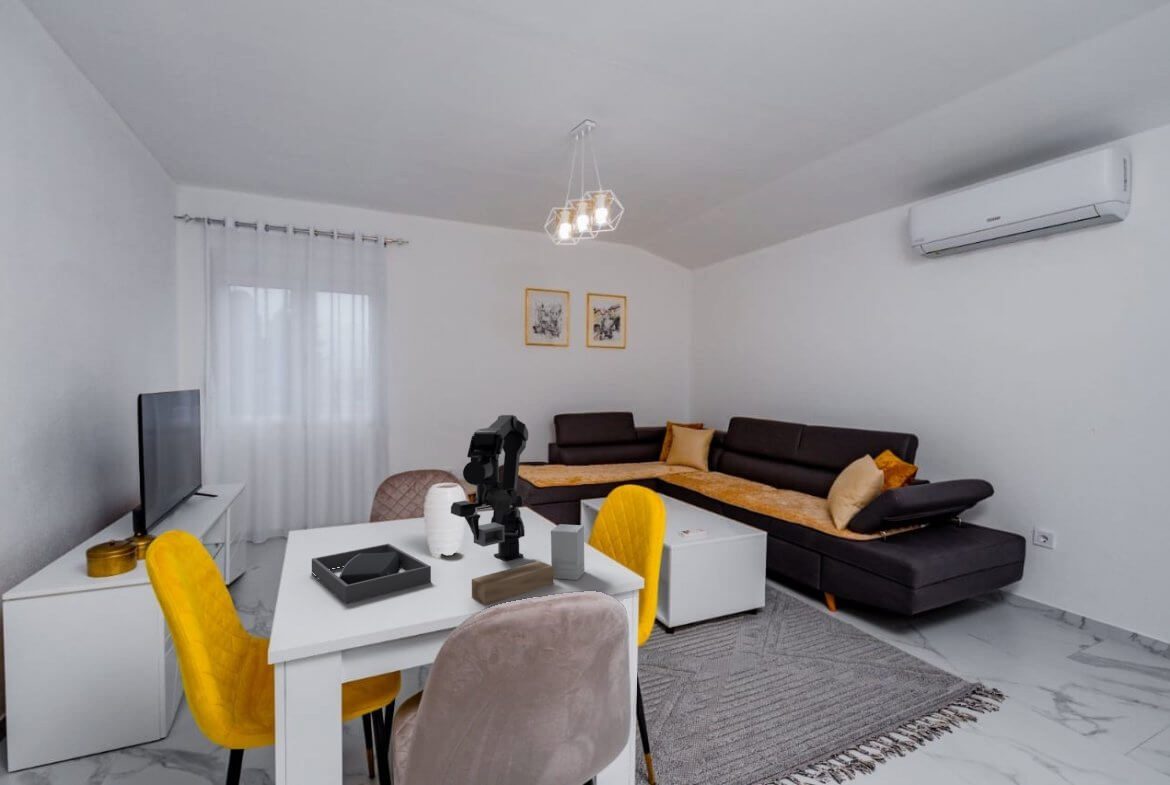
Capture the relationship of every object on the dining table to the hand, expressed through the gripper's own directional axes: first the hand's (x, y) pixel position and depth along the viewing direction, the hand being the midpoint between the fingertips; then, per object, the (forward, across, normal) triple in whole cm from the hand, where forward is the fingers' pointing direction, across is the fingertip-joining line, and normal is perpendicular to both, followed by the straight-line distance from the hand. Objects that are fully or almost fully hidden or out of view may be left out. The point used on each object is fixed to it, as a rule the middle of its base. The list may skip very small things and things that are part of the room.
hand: (488, 537), depth 139 cm
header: (+11, 0, -9) cm, 14 cm away
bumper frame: (+11, -23, +22) cm, 33 cm away
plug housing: (+1, 0, 0) cm, 1 cm away
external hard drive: (+11, -23, +22) cm, 33 cm away
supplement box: (+11, +17, -12) cm, 24 cm away
